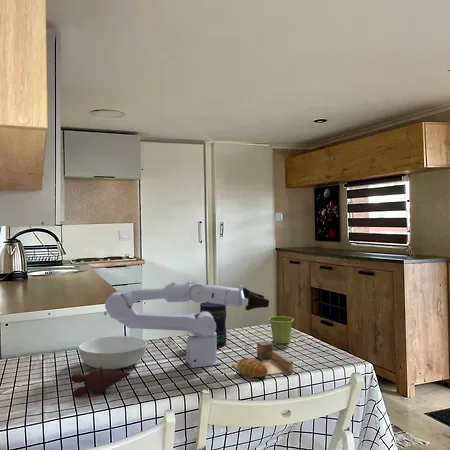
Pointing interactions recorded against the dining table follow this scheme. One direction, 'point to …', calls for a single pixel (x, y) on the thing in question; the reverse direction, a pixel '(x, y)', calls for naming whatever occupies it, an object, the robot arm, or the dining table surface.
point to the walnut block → (264, 350)
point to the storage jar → (217, 320)
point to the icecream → (97, 381)
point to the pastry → (251, 367)
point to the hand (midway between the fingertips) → (266, 301)
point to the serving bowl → (112, 351)
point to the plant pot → (281, 328)
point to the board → (274, 365)
